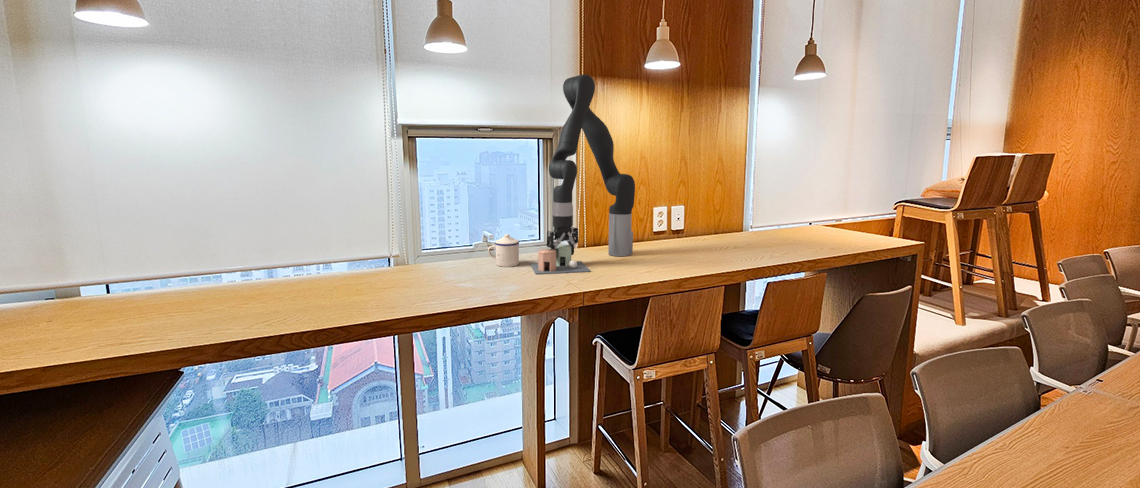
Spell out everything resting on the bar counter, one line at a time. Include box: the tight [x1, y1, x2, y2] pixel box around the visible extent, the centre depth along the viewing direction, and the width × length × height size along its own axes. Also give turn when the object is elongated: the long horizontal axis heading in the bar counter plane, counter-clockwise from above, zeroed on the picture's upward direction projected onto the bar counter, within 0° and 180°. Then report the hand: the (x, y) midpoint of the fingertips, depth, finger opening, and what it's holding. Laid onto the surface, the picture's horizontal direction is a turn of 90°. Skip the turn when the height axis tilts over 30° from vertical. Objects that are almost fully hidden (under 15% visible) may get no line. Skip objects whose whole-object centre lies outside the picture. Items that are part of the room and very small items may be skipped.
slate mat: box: [529, 260, 592, 275], centre depth 204 cm, size 20×16×1 cm
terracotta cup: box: [537, 248, 556, 272], centre depth 199 cm, size 6×6×7 cm
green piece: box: [556, 244, 572, 266], centre depth 207 cm, size 6×6×7 cm
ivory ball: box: [569, 259, 577, 268], centre depth 201 cm, size 3×3×3 cm
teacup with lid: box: [487, 233, 520, 268], centre depth 208 cm, size 12×9×12 cm
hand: (562, 256), depth 207 cm, fingers open, 8 cm apart
